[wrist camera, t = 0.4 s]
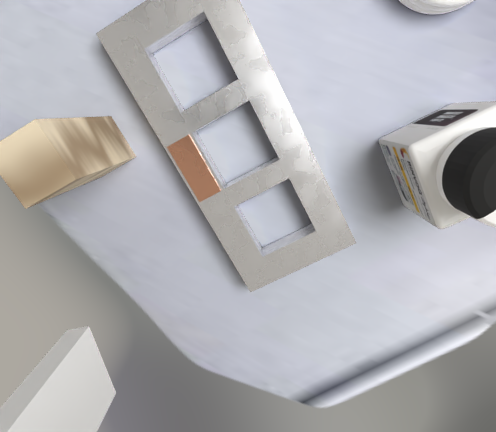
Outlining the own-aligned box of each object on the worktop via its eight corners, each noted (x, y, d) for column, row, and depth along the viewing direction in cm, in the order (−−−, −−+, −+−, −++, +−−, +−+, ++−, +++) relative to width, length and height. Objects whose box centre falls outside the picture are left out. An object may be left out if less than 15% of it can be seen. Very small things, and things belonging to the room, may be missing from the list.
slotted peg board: (108, 39, 32) (94, 33, 29) (220, -34, 30) (216, -48, 27) (251, 280, 39) (250, 293, 36) (350, 234, 37) (356, 243, 34)
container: (376, 138, 34) (444, 155, 21) (453, 101, 32) (574, 95, 20) (403, 207, 36) (479, 258, 23) (477, 173, 34) (600, 209, 22)
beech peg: (74, 138, 35) (-17, 152, 23) (110, 116, 34) (35, 119, 22) (100, 177, 36) (25, 208, 24) (136, 156, 35) (76, 179, 24)
